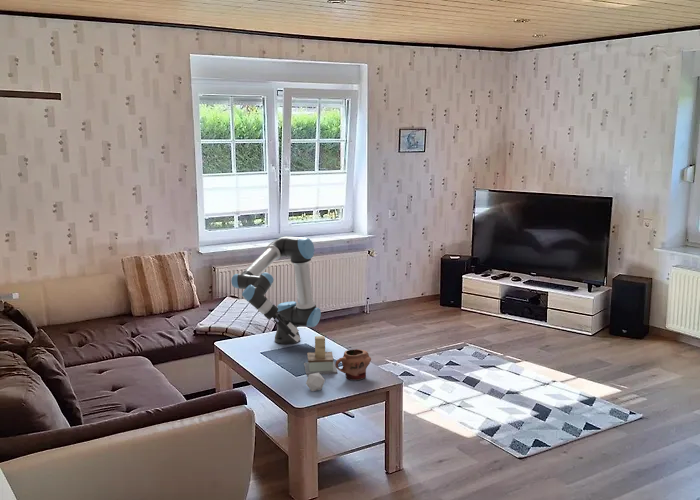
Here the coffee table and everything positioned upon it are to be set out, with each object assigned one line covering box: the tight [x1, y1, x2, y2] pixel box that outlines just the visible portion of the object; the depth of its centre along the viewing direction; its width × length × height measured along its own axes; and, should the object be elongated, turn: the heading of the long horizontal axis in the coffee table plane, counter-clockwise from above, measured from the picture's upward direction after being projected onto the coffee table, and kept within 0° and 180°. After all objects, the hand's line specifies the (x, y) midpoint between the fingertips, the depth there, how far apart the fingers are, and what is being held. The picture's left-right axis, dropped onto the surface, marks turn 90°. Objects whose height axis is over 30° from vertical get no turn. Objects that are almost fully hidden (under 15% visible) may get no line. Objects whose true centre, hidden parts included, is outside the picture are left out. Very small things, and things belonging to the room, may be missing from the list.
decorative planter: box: [335, 348, 372, 381], centre depth 326 cm, size 20×12×14 cm, turn 125°
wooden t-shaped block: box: [306, 335, 335, 363], centre depth 339 cm, size 13×13×11 cm
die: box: [305, 373, 326, 392], centre depth 312 cm, size 8×9×10 cm
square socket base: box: [303, 361, 338, 376], centre depth 340 cm, size 16×16×6 cm
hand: (298, 336), depth 338 cm, fingers open, 13 cm apart
